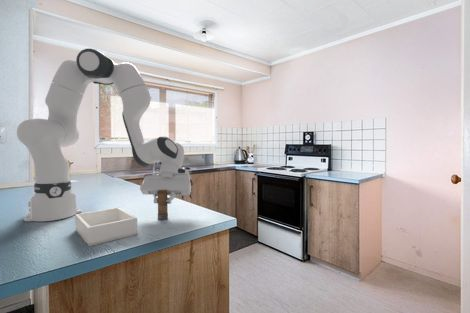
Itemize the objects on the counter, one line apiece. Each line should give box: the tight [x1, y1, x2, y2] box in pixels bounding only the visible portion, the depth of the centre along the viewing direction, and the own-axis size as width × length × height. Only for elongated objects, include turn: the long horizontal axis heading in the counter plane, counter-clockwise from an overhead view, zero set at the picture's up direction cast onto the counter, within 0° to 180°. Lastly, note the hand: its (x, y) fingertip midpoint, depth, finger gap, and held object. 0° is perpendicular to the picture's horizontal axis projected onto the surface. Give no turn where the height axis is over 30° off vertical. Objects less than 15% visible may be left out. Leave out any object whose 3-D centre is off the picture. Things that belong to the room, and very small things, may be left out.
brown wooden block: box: [157, 190, 169, 220], centre depth 97 cm, size 4×4×11 cm
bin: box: [74, 206, 138, 247], centre depth 82 cm, size 18×14×6 cm
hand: (162, 202), depth 96 cm, fingers closed on brown wooden block, 4 cm apart
